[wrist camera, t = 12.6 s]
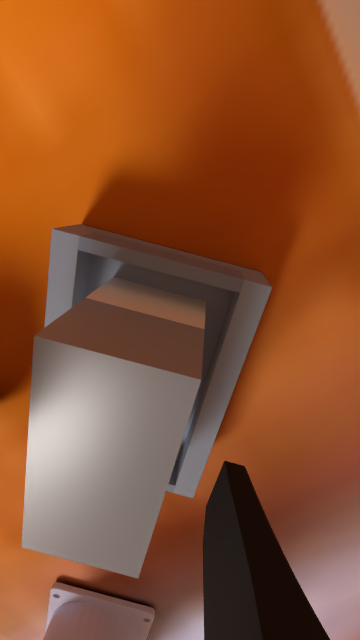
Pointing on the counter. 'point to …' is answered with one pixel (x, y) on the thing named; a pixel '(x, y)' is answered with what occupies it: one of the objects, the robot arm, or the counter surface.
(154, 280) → the grey rectangular tray
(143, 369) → the block
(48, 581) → the counter surface
